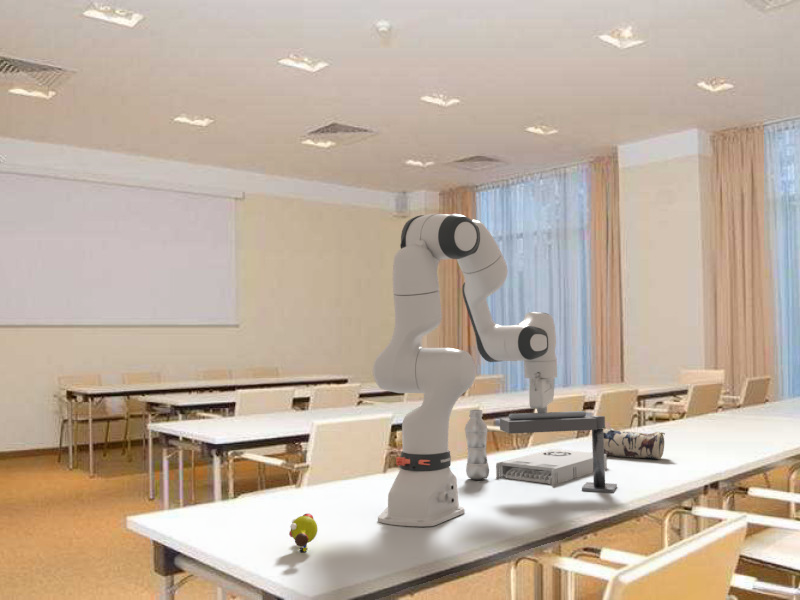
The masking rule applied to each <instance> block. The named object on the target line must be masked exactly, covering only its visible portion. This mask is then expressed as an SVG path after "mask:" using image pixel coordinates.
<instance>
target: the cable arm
mask: <svg viewBox="0 0 800 600" xmlns="http://www.w3.org/2000/svg"><path fill="white" fill-rule="evenodd" d="M605 427H606V417H605V415H589V416H588V415H587V412H586V411H584V410H578V411H577V410H575V411H573V410H572V411H551V412H548V411H547V412H546V413H538V412H525V413H524V412H523V413H522V412H521V413H509V415H508V418H507V417H506V418H499V430H500V431H502V432H504V433H507V434H509V435H510V434H511V435H512V434H529V433H531V434H532V433H534V434H535V433H551V432H557V433H558V432H575V431H577V432H578V431H579V432H580V431H592V430H597V429H604V428H605Z"/></svg>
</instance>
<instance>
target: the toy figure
mask: <svg viewBox="0 0 800 600" xmlns="http://www.w3.org/2000/svg"><path fill="white" fill-rule="evenodd" d="M289 527H290V530H289V536H290V538H293V540H294V542H295V544H296V545H297V546H298V547H299V552H300V553H307V550H308V543H310V542H312V541H313V540H314V539H315V538H316V536H317V534H318V524H317V521H315V519H314V516H313V515H312V514H311V513H304V514H303V515H302V516H301V515H300V516H298V517H296V518H294V519H292V520H291V524H290V526H289Z"/></svg>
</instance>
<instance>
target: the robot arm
mask: <svg viewBox="0 0 800 600" xmlns="http://www.w3.org/2000/svg"><path fill="white" fill-rule="evenodd" d="M399 246H400V249H399V250H397V252H395V255H394V258H393V265H392V293H393V302H394V303H393V305H394V329H393V333H392V336H391V338H390V341H389V343H388V344H387V346H386V347H385V348H384V349H383V350H382V351H381V352H380V353H378V355H377V357H376V358H375V360H374V362H373V366H372V374H373V375H372V376H373V379H374V381H375V383H376V386H378V388H379V389H381V390H384V391H388V392H392V393H396V394H422V395H423V400H422V403H421V405H420V406H418V407H417V408H416V407H415V409H413V410H411V411H410V412H409V411H408V413H407V414H406V415H405V416H404V417H403V420H402V423H401V433H402V435H401V436H402V437H401V438H402V442H401V443H402V450H401V452H400V456H396V458H395V464H396V466H398V467H399V471H398V473H397V475H396V477H395V479H394V481H393V483H392V485H391V487H390V489H389V491H388V495H387V507H386V508H385V509H384V510H383V511H382V512H381V513H380V514H379V515H378V517H377V522H379V523H381V524H387V525H394V526H401V527H404V526H407V527H434V526H436V525H440V524H442V523H444V522H446V521H448V520H452V519H453V518H455V517H458V516H460V515H463V514H464V513H465V508H464V507H462V506H460V505H459V491H458V483H457V482H458V481H457V477H456V475H455V474H454V473H453V472H452V470H451V460H452V456H451V451H450V450H449V428H450V427H449V425H450V418H451V413H452V411H453V409H454V407H455V404H456V403H457V401H458V399H460V397H462V395H463V394H464V393H465V392H467V391H468V390H469V389H470V388H471V387H472V386H473V384H474V382H475V380H476V377H477V376H476V375H477V366H476V362H475V361H474V360H475V359H474V358H473V356H472V355H471V354H470V353H469V352H468V351H466V350H463V349H460V348H459V349H457V348H452V347H423V344H422V343H423V337H425V336H427V335H429V334H430V333H432V332H434V330H436V329H437V328H438V327H439V326H440V324H441V322H442V319H443V317H442V305H441V295H440V294H441V293H440V283H439V277H438V268H439V267H438V266H439V264H440V261H441V260H445V261H446V260H452V259H453V260H456V261H457V264H458V266H459V268H460V270H461V273H462V275H463V277H464V282H463V284H462V287H461V288H462V289H461V290H462V296H463V297H462V298H463V301H464V305H465V307H466V310H467V313H468V317H469V319H470V322H471V326H472V329H473V332H474V335H475V341H476V346H477V347H476V348H477V351H478V353H479V355H480V356H481V357H482V359H484V360H485V361H487V362H488V363H497V362H521V361H522V362H523V365H524V367H523V368H524V370H523V371H524V378H526V379H528V380H529V385H528V386H529V391H528V394H529V395H528V396H529V402H528V403H529V408H530V409H532V410H535V409H536V410H537V411H536V413H546V412H548V406H549V405H550V404H551V403H552V402H553V401H554V395H555V378H558V364H557V363H558V362H557V355H556V347H557V339H556V338H557V335H556V327H555V323H554V318H553V315H551V314H550V313H547V312H540V311H530V312H527V313H525V315H524V318H523V320H521V321H520V322H519V323H517V324H514V325H500V324H498V323H496V322H494V320H493V317H492V314H491V311H490V308H489V304H488V301H487V298H488V297H490V296H491V295H493V294H495V293H496V292H497V291H498V290H499V289H500V288H501V287H502V286H503V285H504V283H505V281H506V279H507V278H508V277H507V276H508V266H507V262H506V261H505V258H504V256H503V253H502V251H501V249H500V248H499V245H498V244H497V242H496V240H495V239H494V236H493V234H492V233H491V232H490V231H489V229H488V228H487V227H486V225H485V224H484V223H482V222H481V221H479V220H476V219H471V218H470V217H468V216H465V215H463V214H458V213H452V214H449V213H446V214H445V213H429V214H425V215H424V214H423V215H422V214H420V215H417V216H415V217H412V218H410V219H409V220H408V221H406V222H405V224H404V225H403V227H402V231H401V234H400V245H399Z"/></svg>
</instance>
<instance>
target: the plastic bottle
mask: <svg viewBox="0 0 800 600" xmlns="http://www.w3.org/2000/svg"><path fill="white" fill-rule="evenodd" d="M483 416H484V415H483V410H482V409H469V419H468V420H467V422H466V424H465V426H464V432H465V439H466V445H467V458H466V459H467V460H466V462H467V463H466V466H465V472H466V476H467V478H468V479H472V480H475V481H480V480H484V479H487V478H488V477H489V475H490V469H489V467H490V466H489V463H488V457H487V455H488V454H487V437H488V427H487V424H486V422H485V421H484V419H483V418H482V417H483Z"/></svg>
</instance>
